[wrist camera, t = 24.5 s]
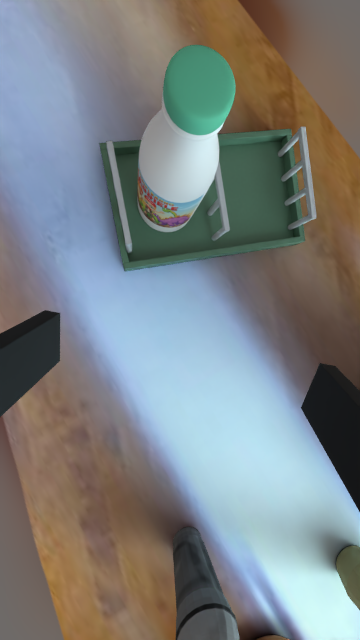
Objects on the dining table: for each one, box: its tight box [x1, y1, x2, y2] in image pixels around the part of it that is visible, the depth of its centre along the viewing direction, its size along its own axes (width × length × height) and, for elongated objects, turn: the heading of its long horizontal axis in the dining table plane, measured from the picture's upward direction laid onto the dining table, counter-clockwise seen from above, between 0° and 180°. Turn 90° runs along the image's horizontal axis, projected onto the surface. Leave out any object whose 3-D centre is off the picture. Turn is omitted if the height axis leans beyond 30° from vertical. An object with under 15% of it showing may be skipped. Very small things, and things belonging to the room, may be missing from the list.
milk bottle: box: [137, 45, 235, 232], centre depth 25 cm, size 8×8×20 cm
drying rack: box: [99, 127, 317, 271], centre depth 34 cm, size 27×16×6 cm, turn 101°
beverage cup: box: [173, 527, 239, 640], centre depth 30 cm, size 7×7×20 cm
